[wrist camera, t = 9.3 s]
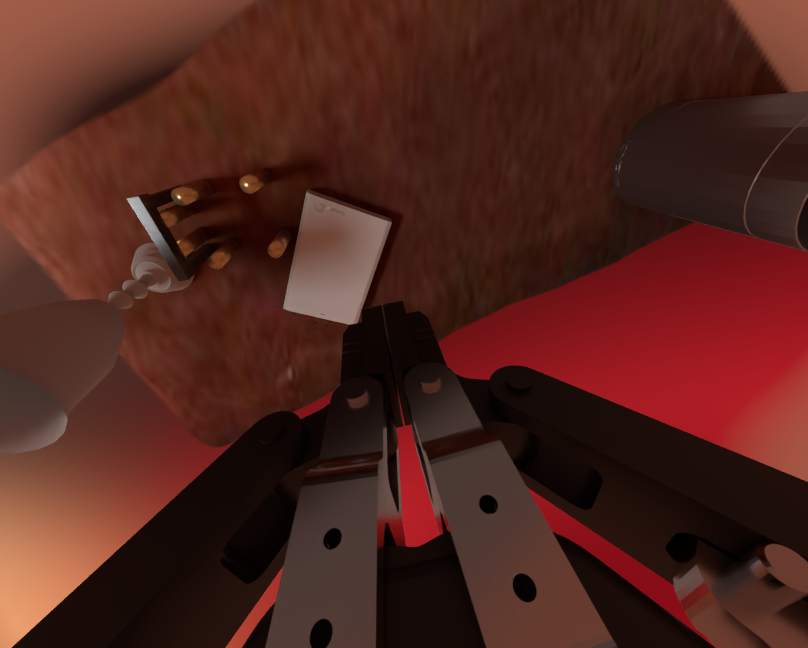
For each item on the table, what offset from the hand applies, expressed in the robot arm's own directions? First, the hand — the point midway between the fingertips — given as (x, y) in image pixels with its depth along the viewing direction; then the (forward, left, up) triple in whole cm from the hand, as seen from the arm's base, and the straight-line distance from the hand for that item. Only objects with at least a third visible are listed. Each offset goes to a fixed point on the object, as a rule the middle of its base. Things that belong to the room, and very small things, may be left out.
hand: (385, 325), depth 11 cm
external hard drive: (+1, 0, -21) cm, 21 cm away
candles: (+11, -1, -22) cm, 24 cm away
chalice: (+20, +2, -22) cm, 30 cm away
